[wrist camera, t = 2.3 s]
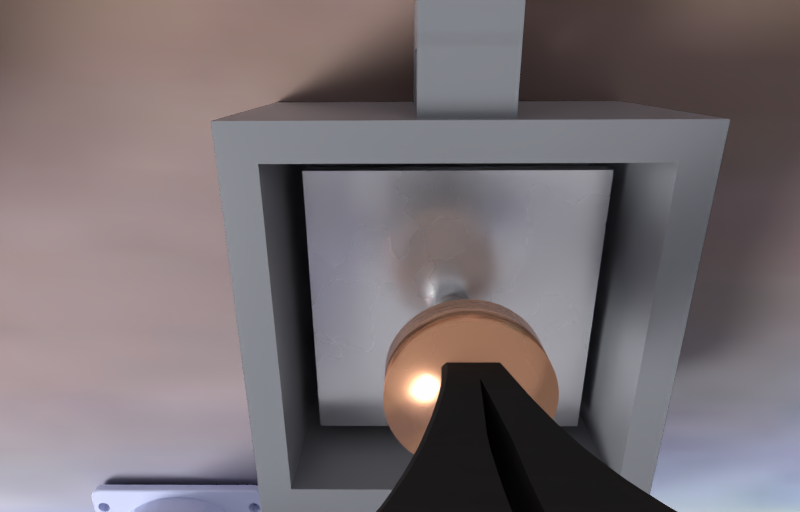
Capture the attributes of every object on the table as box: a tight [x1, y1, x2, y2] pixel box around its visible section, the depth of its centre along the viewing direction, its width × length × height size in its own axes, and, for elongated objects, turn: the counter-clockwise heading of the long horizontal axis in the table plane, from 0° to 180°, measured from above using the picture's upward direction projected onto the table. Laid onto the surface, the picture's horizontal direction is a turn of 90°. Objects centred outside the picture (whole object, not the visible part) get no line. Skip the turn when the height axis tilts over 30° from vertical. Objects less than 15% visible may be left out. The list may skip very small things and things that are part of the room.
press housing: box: [211, 0, 730, 512], centre depth 16 cm, size 15×12×6 cm
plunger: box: [302, 166, 614, 454], centre depth 14 cm, size 9×9×5 cm
